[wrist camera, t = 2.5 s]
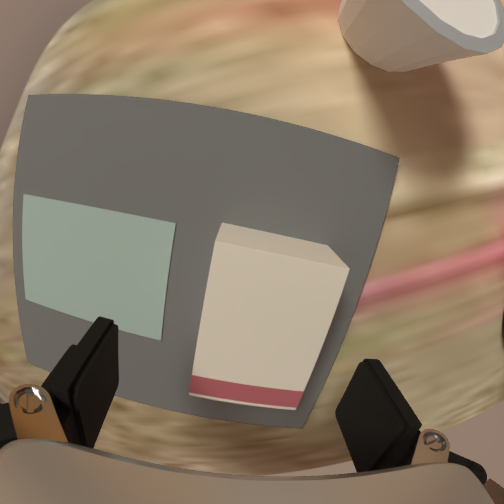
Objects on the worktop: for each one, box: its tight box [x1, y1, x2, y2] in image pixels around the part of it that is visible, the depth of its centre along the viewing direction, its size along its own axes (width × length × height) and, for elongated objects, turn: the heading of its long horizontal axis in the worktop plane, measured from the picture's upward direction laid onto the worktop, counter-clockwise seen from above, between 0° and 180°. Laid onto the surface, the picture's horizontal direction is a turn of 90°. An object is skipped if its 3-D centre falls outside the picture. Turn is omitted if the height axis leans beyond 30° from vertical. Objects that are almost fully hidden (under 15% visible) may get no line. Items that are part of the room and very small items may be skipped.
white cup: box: [338, 0, 504, 72], centre depth 9 cm, size 7×7×7 cm
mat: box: [13, 94, 399, 429], centre depth 16 cm, size 22×19×1 cm
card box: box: [189, 223, 350, 410], centre depth 15 cm, size 8×6×4 cm
